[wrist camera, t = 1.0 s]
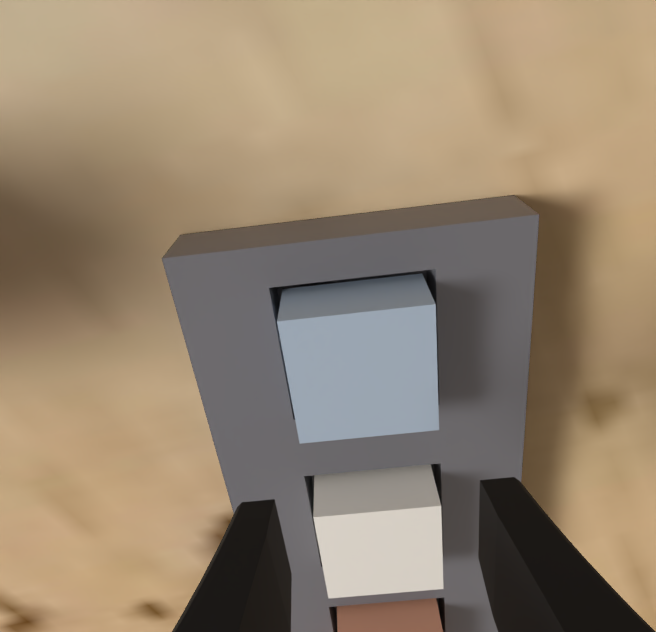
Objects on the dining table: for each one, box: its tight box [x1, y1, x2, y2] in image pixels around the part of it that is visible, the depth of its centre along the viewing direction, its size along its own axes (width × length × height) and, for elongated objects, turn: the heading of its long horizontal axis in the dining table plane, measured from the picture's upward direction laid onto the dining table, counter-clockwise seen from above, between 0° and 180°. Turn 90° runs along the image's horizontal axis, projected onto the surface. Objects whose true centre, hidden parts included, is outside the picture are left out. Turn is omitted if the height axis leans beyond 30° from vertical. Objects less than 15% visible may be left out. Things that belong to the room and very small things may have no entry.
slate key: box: [277, 273, 439, 444], centre depth 15 cm, size 4×4×2 cm
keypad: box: [162, 195, 539, 632], centre depth 19 cm, size 21×10×2 cm, turn 7°
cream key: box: [313, 464, 443, 599], centre depth 18 cm, size 4×4×2 cm
